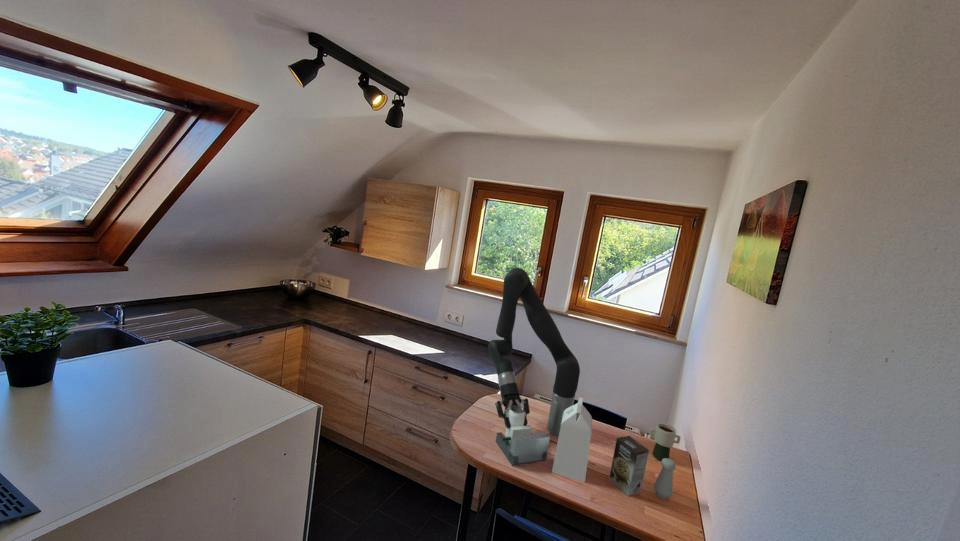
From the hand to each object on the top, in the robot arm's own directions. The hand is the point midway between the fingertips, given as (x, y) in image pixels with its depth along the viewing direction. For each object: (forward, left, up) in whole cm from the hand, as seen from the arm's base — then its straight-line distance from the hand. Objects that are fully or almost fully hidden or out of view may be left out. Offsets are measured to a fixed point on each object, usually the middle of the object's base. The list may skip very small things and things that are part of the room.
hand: (517, 427), depth 152 cm
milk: (-14, +17, -7) cm, 23 cm away
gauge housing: (0, +5, -7) cm, 9 cm away
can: (0, -2, -6) cm, 6 cm away
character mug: (-55, +20, -7) cm, 59 cm away
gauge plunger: (+2, +3, -6) cm, 7 cm away
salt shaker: (-38, +37, -7) cm, 54 cm away
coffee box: (-28, +30, -7) cm, 42 cm away
